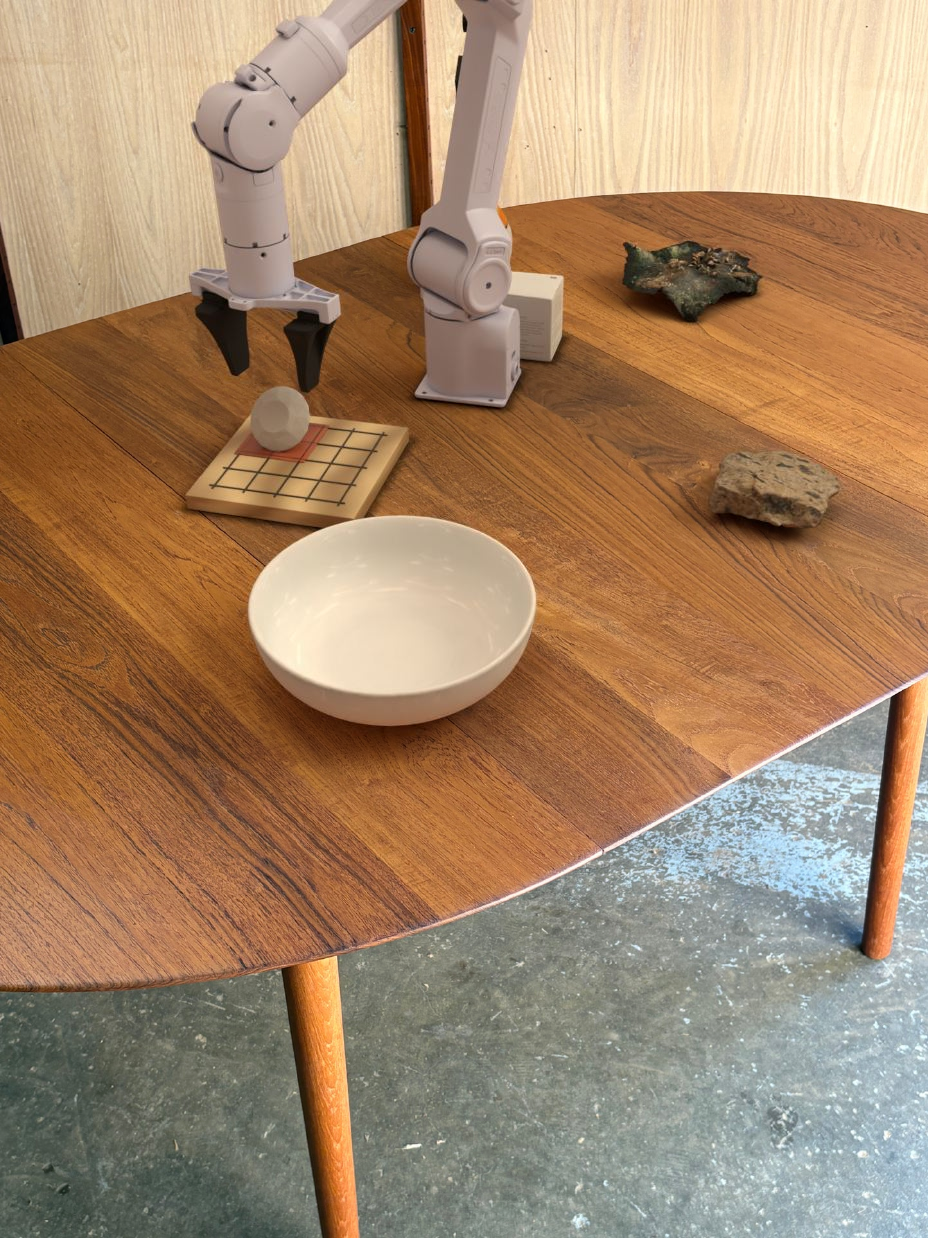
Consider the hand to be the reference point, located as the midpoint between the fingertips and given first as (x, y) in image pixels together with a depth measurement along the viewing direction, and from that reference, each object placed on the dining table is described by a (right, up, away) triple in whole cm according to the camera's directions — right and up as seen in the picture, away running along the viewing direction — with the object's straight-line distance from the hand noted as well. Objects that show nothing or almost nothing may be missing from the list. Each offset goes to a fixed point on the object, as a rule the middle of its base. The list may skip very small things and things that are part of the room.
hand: (274, 379), depth 112 cm
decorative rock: (+44, +18, +33) cm, 58 cm away
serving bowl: (+12, -26, -20) cm, 35 cm away
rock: (+45, -12, -4) cm, 47 cm away
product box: (+25, +8, +21) cm, 33 cm away
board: (+2, -8, +2) cm, 9 cm away
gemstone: (0, -5, +4) cm, 6 cm away
